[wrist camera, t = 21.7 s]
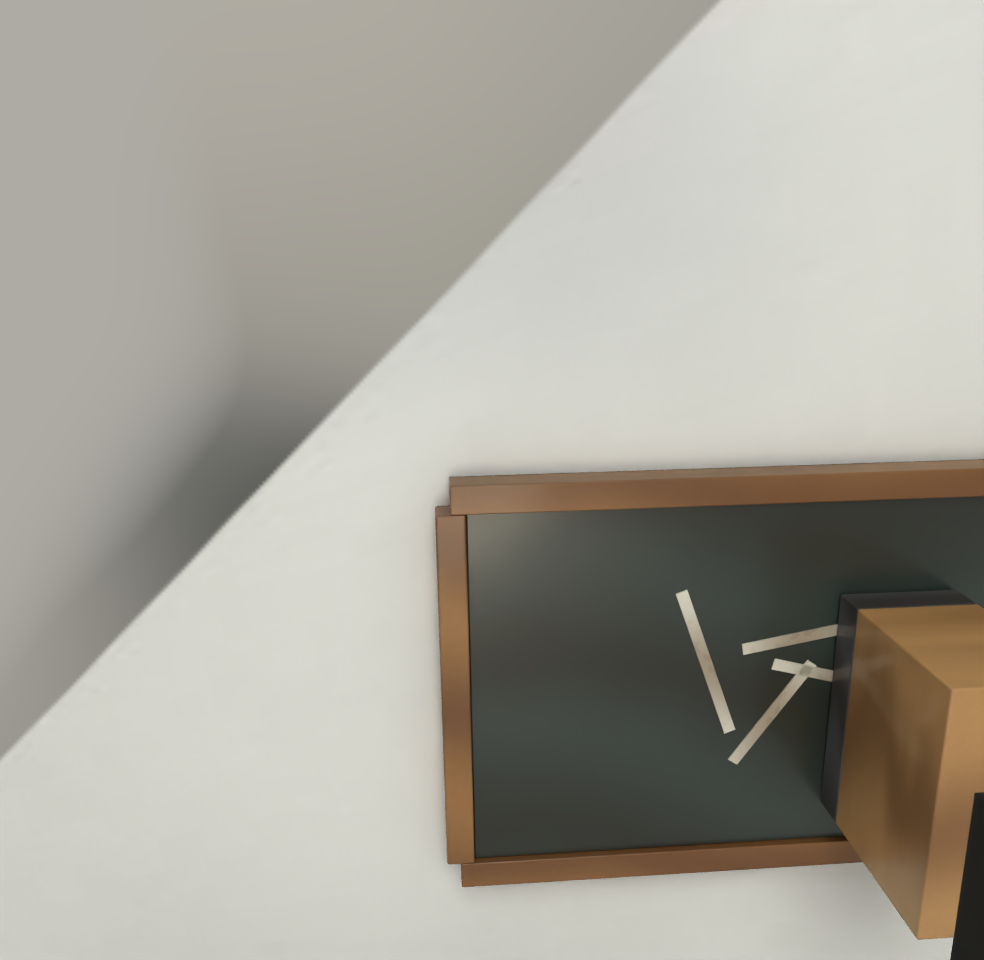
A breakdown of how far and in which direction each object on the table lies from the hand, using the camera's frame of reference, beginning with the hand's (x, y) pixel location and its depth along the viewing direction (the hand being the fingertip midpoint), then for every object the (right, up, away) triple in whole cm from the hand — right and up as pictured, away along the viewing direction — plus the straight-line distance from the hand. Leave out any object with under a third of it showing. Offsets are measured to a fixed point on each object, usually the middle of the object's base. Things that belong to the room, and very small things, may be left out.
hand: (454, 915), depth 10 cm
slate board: (+12, -3, +27) cm, 30 cm away
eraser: (+18, -4, +27) cm, 32 cm away
